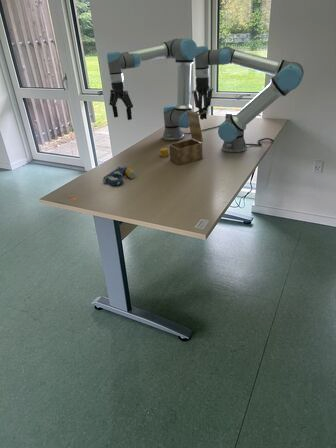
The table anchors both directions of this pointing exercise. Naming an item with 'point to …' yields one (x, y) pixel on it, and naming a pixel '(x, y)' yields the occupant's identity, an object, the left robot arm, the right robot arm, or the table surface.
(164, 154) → the block
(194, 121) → the lid
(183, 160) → the chest
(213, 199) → the table surface
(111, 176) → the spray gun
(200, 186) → the table surface
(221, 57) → the right robot arm
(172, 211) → the table surface
